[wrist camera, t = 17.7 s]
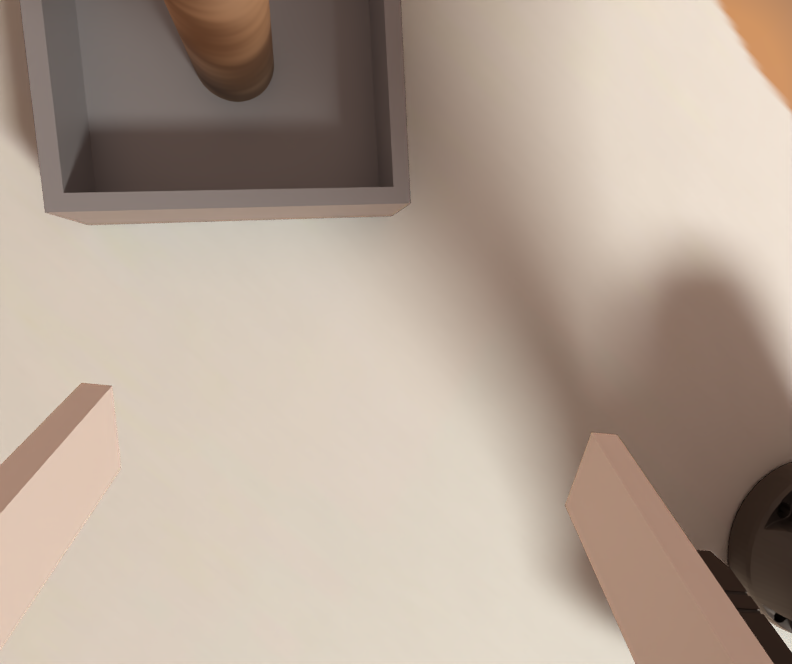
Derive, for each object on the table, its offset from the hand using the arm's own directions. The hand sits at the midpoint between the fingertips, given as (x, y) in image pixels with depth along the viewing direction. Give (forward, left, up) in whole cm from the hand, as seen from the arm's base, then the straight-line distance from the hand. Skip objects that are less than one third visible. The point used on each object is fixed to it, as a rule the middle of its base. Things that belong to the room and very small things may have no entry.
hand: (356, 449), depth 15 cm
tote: (+4, -19, -23) cm, 30 cm away
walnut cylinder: (+4, -19, -22) cm, 30 cm away
